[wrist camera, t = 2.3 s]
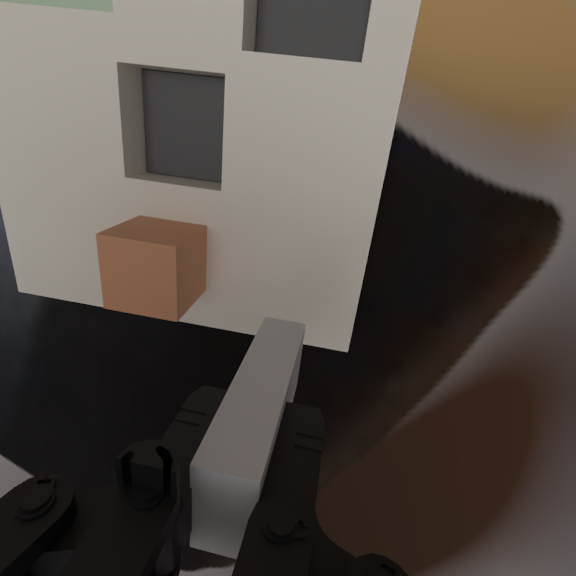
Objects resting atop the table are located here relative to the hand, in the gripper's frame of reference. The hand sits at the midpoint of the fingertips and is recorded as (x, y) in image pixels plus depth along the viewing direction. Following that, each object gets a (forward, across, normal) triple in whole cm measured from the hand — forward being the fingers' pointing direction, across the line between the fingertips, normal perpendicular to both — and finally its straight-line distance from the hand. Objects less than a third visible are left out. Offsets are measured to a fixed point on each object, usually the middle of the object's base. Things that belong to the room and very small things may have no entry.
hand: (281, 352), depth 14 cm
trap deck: (+10, -8, +6) cm, 15 cm away
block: (+8, -8, 0) cm, 11 cm away
